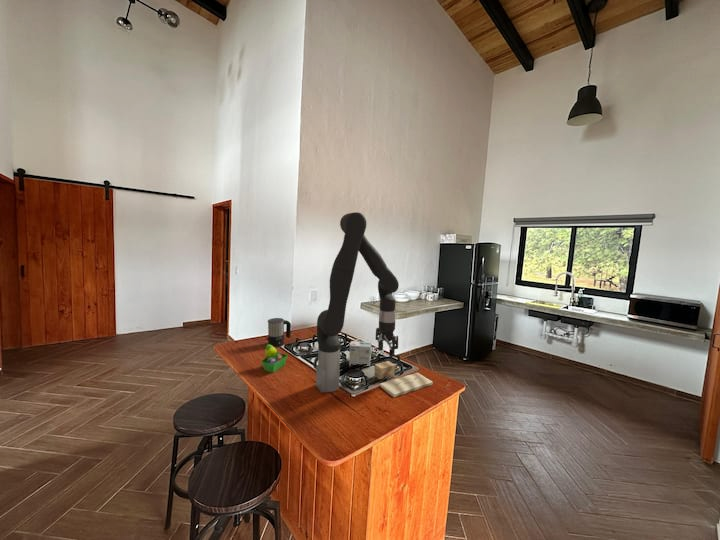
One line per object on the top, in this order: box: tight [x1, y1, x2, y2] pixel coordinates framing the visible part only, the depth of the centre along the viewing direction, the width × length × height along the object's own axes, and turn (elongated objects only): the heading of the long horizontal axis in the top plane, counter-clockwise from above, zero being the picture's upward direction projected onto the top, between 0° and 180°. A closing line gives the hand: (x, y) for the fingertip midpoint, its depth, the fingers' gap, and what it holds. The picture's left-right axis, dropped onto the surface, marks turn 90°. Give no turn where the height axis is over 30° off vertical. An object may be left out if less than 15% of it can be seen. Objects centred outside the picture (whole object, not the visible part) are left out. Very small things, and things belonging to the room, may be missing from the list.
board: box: [379, 372, 434, 398], centre depth 128 cm, size 22×10×1 cm, turn 122°
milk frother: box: [267, 317, 292, 348], centre depth 172 cm, size 14×16×15 cm
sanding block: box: [374, 360, 396, 379], centre depth 135 cm, size 8×5×6 cm, turn 122°
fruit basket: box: [260, 343, 288, 373], centre depth 140 cm, size 11×9×11 cm
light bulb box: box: [348, 340, 372, 367], centre depth 147 cm, size 11×7×11 cm, turn 84°
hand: (386, 353), depth 134 cm, fingers open, 8 cm apart
